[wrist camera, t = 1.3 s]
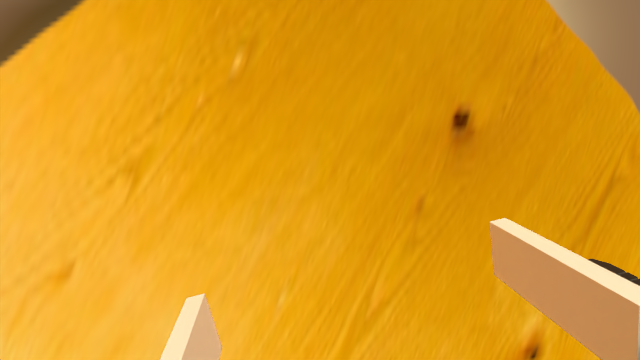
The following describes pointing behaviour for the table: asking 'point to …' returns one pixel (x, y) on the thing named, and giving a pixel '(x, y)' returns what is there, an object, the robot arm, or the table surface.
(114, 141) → the table surface
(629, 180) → the table surface
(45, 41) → the table surface
